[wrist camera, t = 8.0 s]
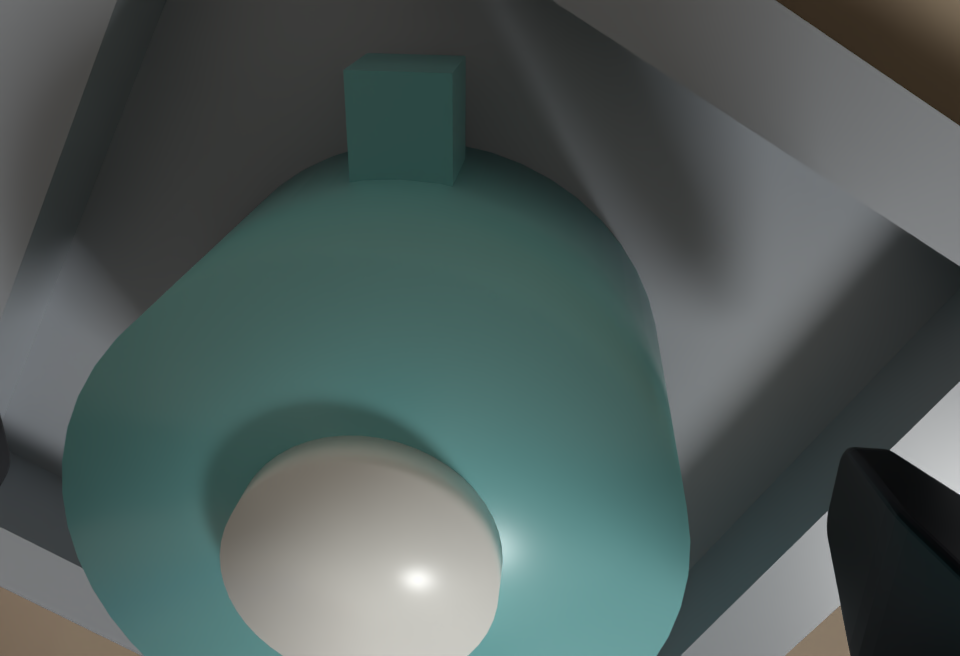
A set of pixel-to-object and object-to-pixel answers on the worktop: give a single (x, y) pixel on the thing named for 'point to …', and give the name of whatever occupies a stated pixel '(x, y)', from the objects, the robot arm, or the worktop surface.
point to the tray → (568, 162)
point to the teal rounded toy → (389, 416)
